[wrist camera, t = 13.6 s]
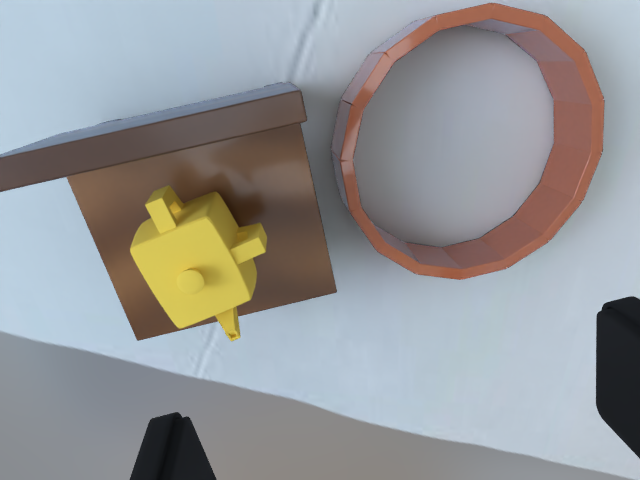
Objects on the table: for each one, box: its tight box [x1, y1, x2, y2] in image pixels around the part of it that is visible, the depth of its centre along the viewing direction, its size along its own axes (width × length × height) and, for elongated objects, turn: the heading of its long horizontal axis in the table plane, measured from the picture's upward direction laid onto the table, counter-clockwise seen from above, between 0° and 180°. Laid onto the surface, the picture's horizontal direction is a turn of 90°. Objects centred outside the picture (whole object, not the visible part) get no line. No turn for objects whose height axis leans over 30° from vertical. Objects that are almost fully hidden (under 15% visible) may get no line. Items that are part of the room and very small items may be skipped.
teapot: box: [130, 185, 267, 341], centre depth 22 cm, size 8×6×5 cm
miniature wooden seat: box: [0, 82, 337, 341], centre depth 25 cm, size 12×12×13 cm
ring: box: [331, 3, 604, 280], centre depth 30 cm, size 17×17×4 cm
